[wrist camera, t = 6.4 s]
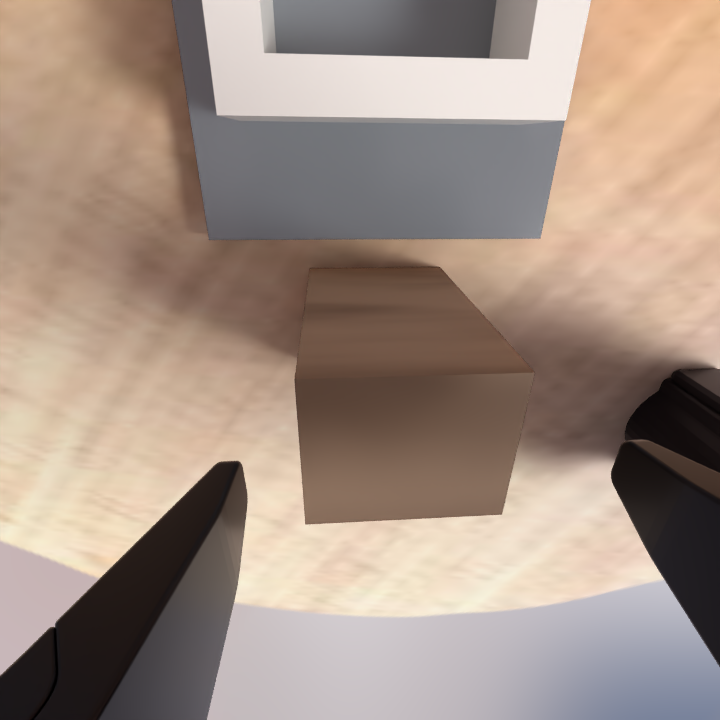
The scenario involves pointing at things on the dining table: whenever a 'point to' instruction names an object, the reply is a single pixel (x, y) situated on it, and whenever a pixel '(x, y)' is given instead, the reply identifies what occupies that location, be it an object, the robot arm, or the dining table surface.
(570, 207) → the dining table surface
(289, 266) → the dining table surface
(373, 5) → the square frame on plate
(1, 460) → the dining table surface
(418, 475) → the wooden block
